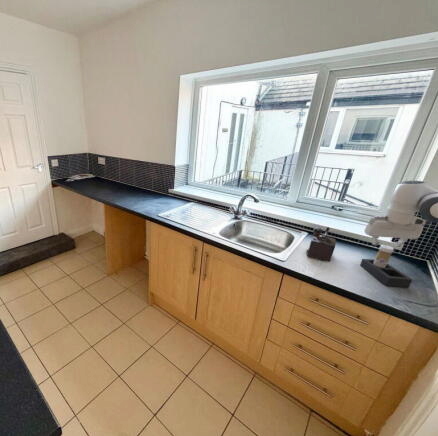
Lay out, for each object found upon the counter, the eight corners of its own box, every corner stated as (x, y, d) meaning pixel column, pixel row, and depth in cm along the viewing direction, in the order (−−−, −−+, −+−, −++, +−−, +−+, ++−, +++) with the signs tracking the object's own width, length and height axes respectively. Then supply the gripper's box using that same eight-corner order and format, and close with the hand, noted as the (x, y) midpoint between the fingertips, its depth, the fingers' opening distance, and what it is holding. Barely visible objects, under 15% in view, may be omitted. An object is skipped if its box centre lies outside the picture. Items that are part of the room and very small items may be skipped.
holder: (379, 267, 120) (382, 260, 118) (408, 287, 104) (412, 279, 103) (359, 265, 121) (362, 258, 119) (385, 285, 105) (389, 277, 104)
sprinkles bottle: (371, 272, 115) (382, 247, 110) (369, 267, 119) (379, 243, 114) (384, 275, 113) (395, 250, 108) (381, 270, 117) (392, 245, 112)
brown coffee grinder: (307, 248, 137) (316, 218, 130) (331, 254, 131) (341, 223, 124) (303, 259, 125) (312, 228, 118) (329, 267, 119) (340, 234, 112)
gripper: (377, 218, 105) (366, 246, 109) (430, 221, 102) (416, 250, 107) (366, 213, 110) (356, 240, 115) (416, 216, 108) (404, 244, 113)
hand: (386, 245), depth 111 cm, fingers open, 8 cm apart
